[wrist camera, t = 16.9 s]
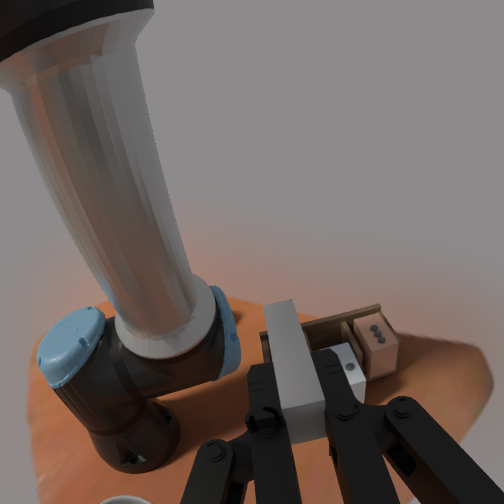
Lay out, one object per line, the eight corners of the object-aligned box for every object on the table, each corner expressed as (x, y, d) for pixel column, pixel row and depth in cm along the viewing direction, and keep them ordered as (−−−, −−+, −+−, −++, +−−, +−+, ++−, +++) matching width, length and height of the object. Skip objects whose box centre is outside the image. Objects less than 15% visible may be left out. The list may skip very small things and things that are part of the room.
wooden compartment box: (397, 371, 44) (402, 336, 40) (273, 405, 44) (265, 373, 41) (377, 337, 52) (378, 303, 49) (267, 365, 53) (259, 332, 49)
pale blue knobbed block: (363, 405, 37) (366, 378, 35) (334, 414, 37) (333, 388, 35) (347, 369, 45) (347, 340, 42) (321, 376, 45) (319, 348, 42)
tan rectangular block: (394, 369, 42) (398, 341, 39) (369, 378, 42) (371, 350, 39) (376, 339, 49) (378, 311, 46) (353, 346, 49) (353, 318, 47)
